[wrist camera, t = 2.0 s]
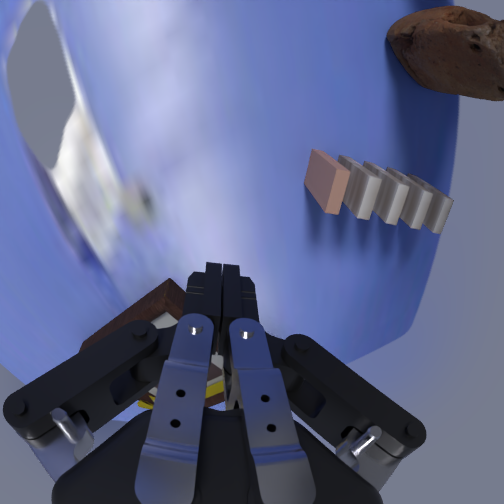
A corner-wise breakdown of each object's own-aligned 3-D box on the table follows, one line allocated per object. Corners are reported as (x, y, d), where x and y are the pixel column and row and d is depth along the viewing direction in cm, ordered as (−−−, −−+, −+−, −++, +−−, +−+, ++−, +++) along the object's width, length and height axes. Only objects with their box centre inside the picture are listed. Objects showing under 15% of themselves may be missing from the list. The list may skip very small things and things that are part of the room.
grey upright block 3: (355, 193, 41) (385, 223, 33) (364, 160, 39) (399, 184, 30) (364, 195, 41) (396, 225, 33) (373, 163, 39) (409, 186, 30)
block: (445, 67, 31) (548, 83, 14) (419, 94, 33) (524, 119, 16) (402, 11, 26) (503, -9, 9) (373, 36, 29) (474, 19, 12)
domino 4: (398, 202, 42) (432, 232, 34) (407, 173, 40) (446, 197, 31) (406, 204, 42) (440, 234, 34) (415, 175, 40) (453, 200, 31)
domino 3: (377, 197, 42) (410, 227, 33) (387, 167, 39) (424, 191, 31) (386, 199, 42) (420, 229, 33) (395, 169, 39) (433, 193, 31)
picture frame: (274, 385, 54) (169, 425, 61) (270, 360, 59) (171, 403, 67) (166, 300, 41) (71, 365, 49) (172, 273, 47) (80, 342, 54)
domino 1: (303, 183, 40) (324, 212, 31) (311, 148, 37) (336, 168, 29) (314, 185, 40) (338, 214, 32) (323, 151, 38) (350, 171, 29)
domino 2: (330, 188, 40) (357, 217, 32) (339, 154, 38) (369, 176, 29) (340, 190, 41) (368, 220, 32) (349, 157, 38) (382, 179, 30)
